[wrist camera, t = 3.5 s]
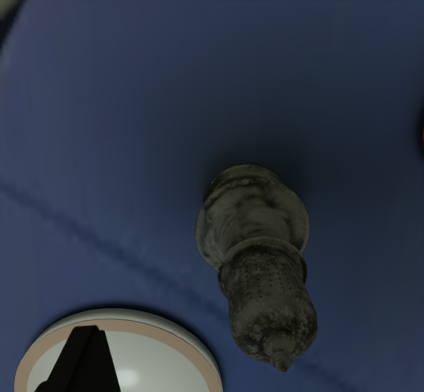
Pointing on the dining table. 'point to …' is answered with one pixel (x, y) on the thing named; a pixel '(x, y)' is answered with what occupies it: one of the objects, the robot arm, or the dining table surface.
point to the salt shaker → (259, 261)
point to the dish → (129, 353)
